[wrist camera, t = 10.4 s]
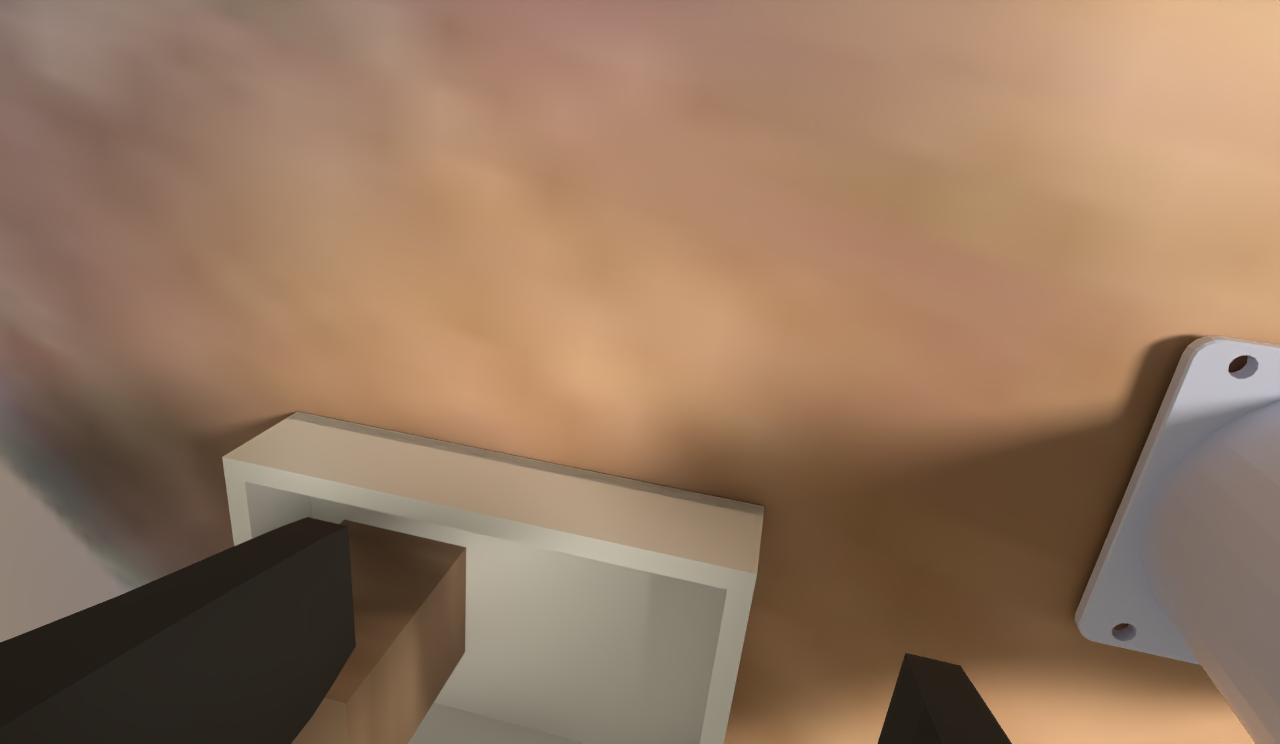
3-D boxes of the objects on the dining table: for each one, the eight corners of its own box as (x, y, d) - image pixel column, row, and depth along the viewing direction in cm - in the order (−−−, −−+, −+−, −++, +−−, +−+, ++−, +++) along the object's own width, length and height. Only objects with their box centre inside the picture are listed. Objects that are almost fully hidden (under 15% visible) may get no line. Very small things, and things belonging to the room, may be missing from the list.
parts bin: (764, 506, 19) (757, 574, 16) (712, 777, 23) (698, 869, 20) (297, 411, 21) (221, 457, 19) (320, 671, 25) (261, 741, 22)
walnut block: (466, 547, 21) (346, 703, 16) (465, 651, 23) (355, 828, 17) (344, 519, 22) (187, 659, 16) (351, 623, 23) (210, 783, 18)
